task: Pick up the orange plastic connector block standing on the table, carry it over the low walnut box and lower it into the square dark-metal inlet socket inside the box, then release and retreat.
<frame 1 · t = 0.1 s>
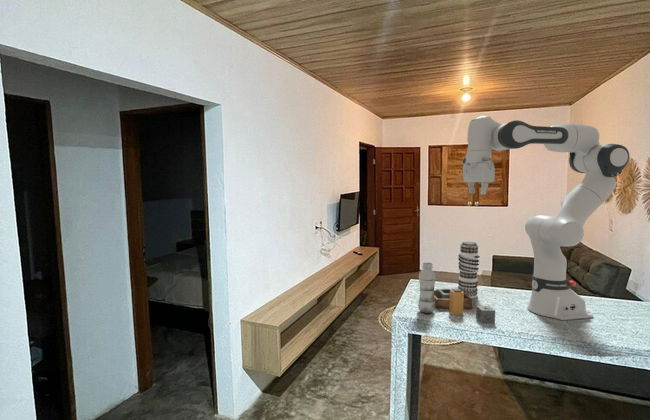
hand: (477, 194, 140), 48 cm above the counter, fingers open, 8 cm apart
connector: (456, 312, 143), on the counter
walled box: (448, 303, 154), on the counter
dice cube: (485, 321, 135), on the counter
decorative candle: (467, 295, 165), on the counter
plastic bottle: (426, 312, 143), on the counter
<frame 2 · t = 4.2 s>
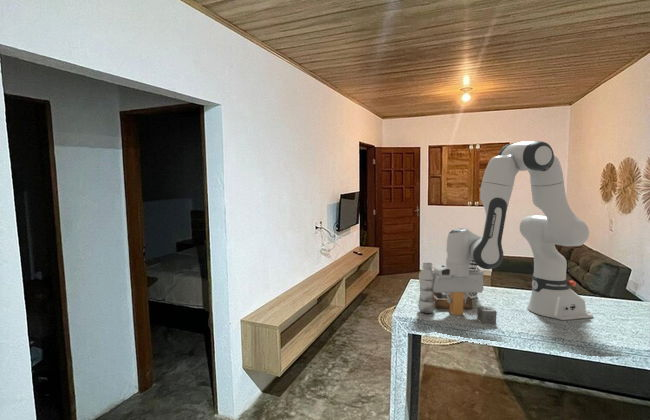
hand: (456, 302, 142), 4 cm above the counter, fingers closed on connector, 4 cm apart
connector: (456, 312, 143), on the counter, touching gripper
when the fingers open (7 cm above the counter, at t = 8.8 s): connector drops 2 cm, resting on walled box.
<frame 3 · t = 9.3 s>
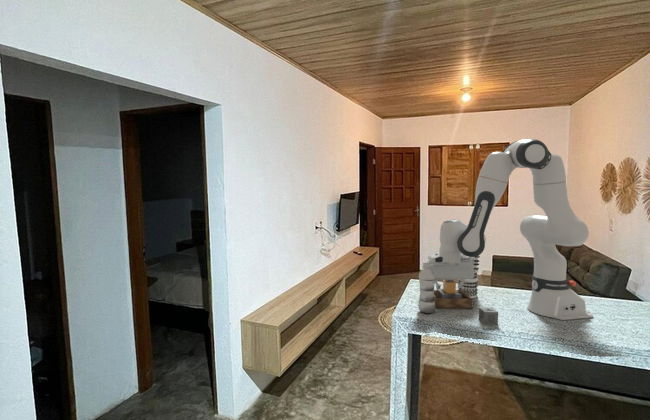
hand: (449, 288, 153), 7 cm above the counter, fingers open, 8 cm apart
connector: (448, 301, 153), point 1 cm above the counter, touching walled box
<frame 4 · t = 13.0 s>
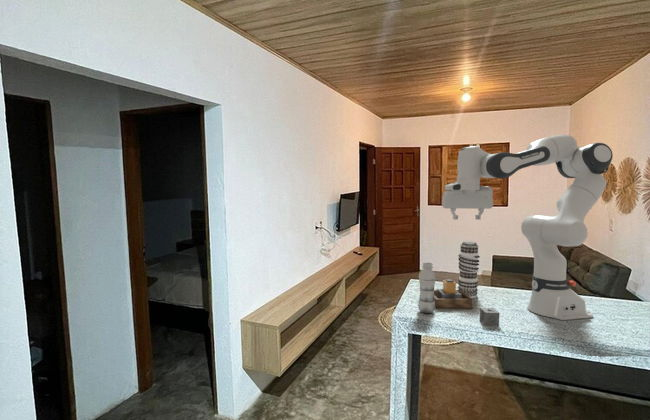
hand: (466, 219, 147), 37 cm above the counter, fingers open, 8 cm apart
at the end: connector 0.1 cm off-centre on the walled box, point 0.8 cm above the walled box's base; connector tilted 0°; the gripper is holding nothing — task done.
